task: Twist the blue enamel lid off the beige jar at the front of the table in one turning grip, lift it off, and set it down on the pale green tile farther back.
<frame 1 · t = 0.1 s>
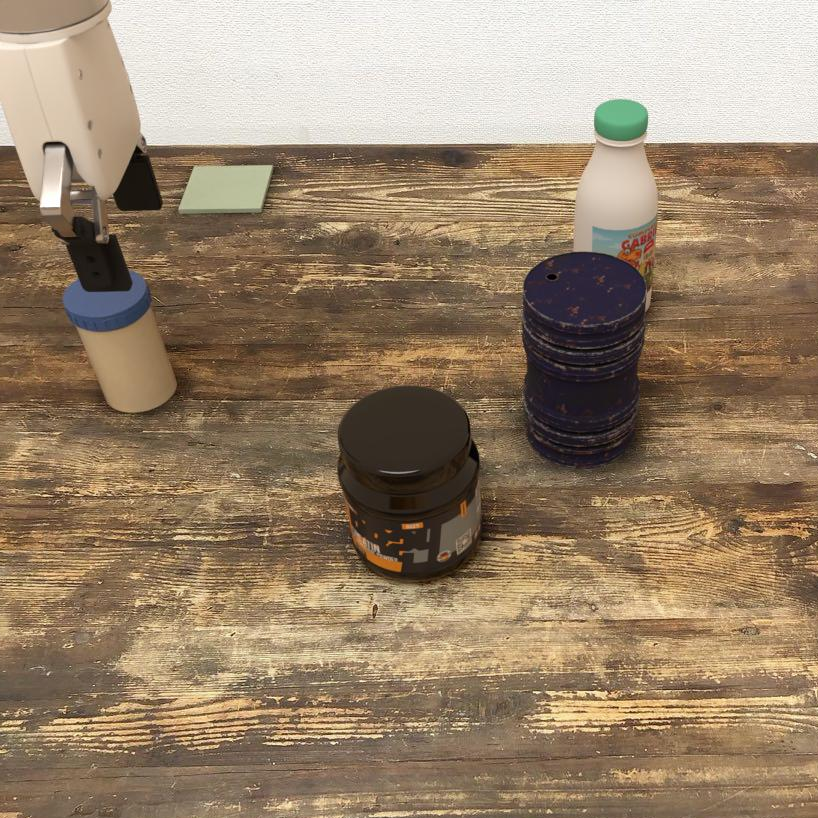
hand: (126, 247, 74), 22 cm above the table, tool pointing down, fingers open, 9 cm apart
supplement container: (419, 539, 86), on the table
lid: (106, 295, 90), point 10 cm above the table, screwed on, not yet turned
beige jar: (141, 389, 98), on the table
storage jar: (580, 431, 94), on the table
tile: (227, 191, 120), on the table
milk bottle: (611, 305, 106), on the table
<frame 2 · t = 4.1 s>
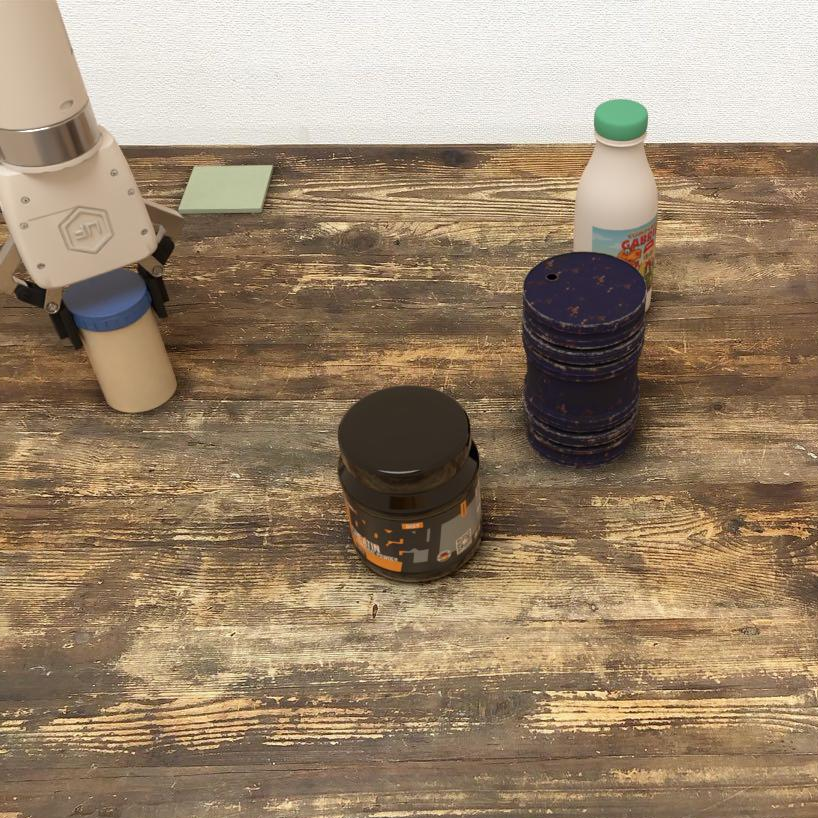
hand: (116, 324, 92), 7 cm above the table, tool pointing down, fingers closed on lid, 6 cm apart
lid: (106, 295, 90), point 10 cm above the table, screwed on, not yet turned, touching gripper
everything else where it was.
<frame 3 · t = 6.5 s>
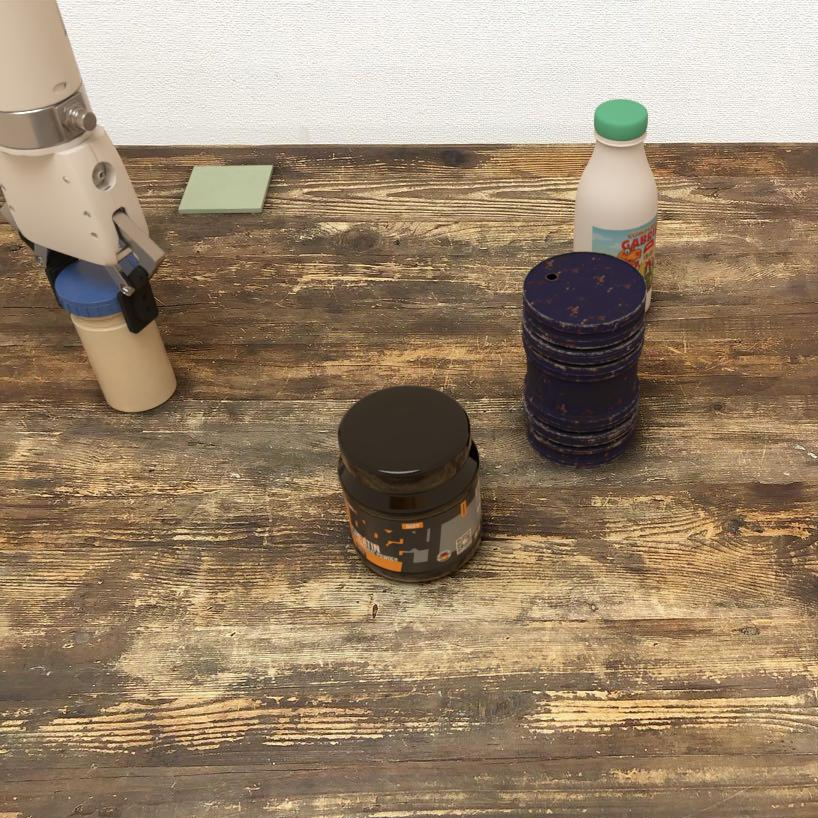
hand: (109, 310, 91), 9 cm above the table, tool pointing down, fingers closed on lid, 6 cm apart
lid: (99, 281, 89), point 12 cm above the table, off its thread, touching gripper
beige jar: (141, 388, 98), on the table, touching gripper
everything else where it was.
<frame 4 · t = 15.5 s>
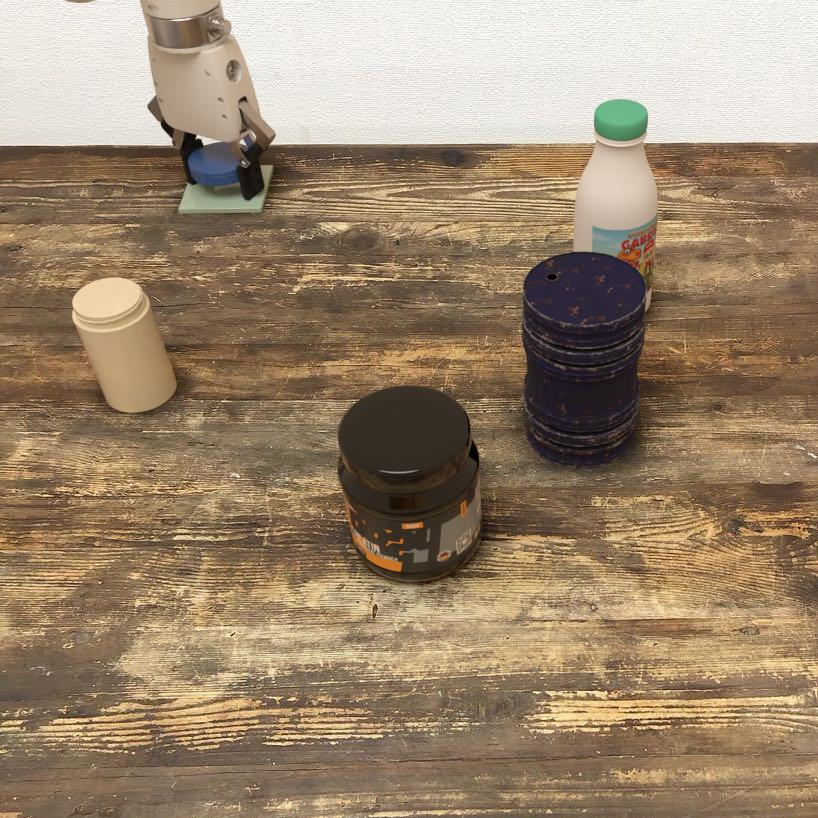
hand: (226, 185, 119), 1 cm above the table, tool pointing down, fingers closed on lid, 6 cm apart
lid: (220, 160, 117), point 4 cm above the table, off its thread, touching gripper
beige jar: (141, 389, 98), on the table
everything else where it was.
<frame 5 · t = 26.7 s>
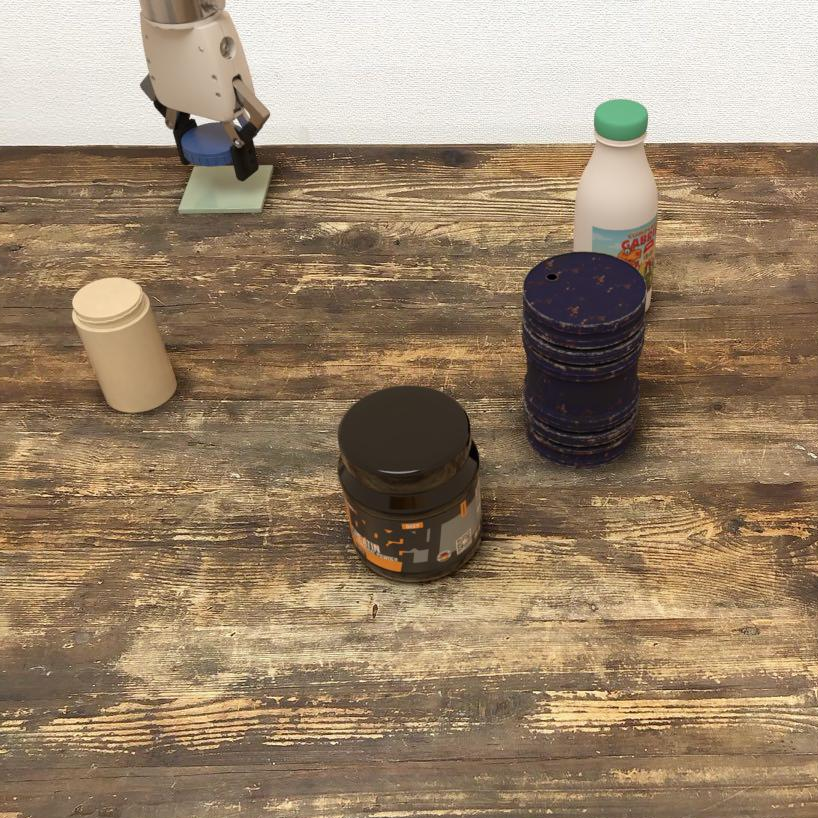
hand: (220, 166, 117), 3 cm above the table, tool pointing down, fingers closed on lid, 6 cm apart
lid: (214, 141, 115), point 6 cm above the table, off its thread, touching gripper
everything else where it was.
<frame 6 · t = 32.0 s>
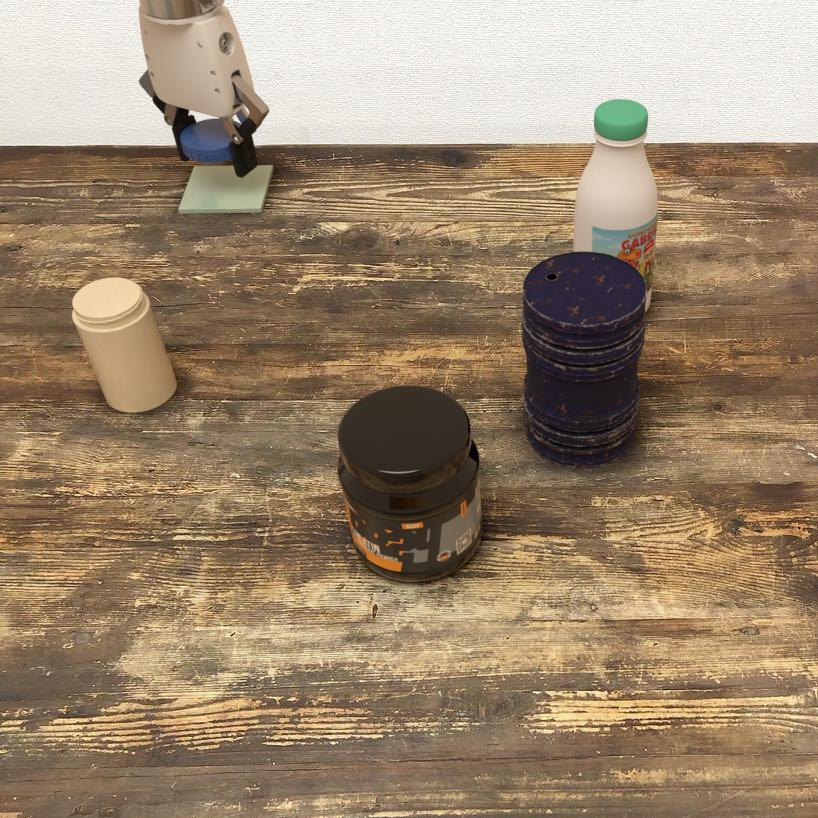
hand: (219, 162, 117), 4 cm above the table, tool pointing down, fingers closed on lid, 6 cm apart
lid: (213, 137, 115), point 6 cm above the table, off its thread, touching gripper
everything else where it was.
when the fingers open (4 cm above the table, at t = 37.3 s): lid drops 5 cm, resting on tile.
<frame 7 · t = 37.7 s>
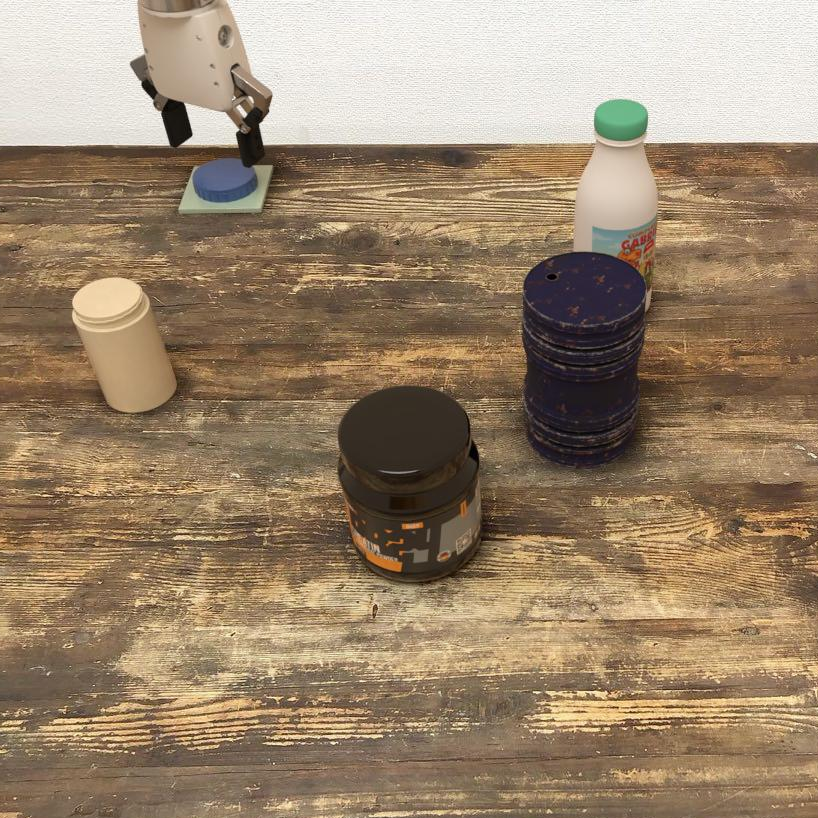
hand: (217, 151, 116), 5 cm above the table, tool pointing down, fingers open, 9 cm apart
lid: (224, 177, 119), point 2 cm above the table, off its thread, touching tile
everything else where it was.
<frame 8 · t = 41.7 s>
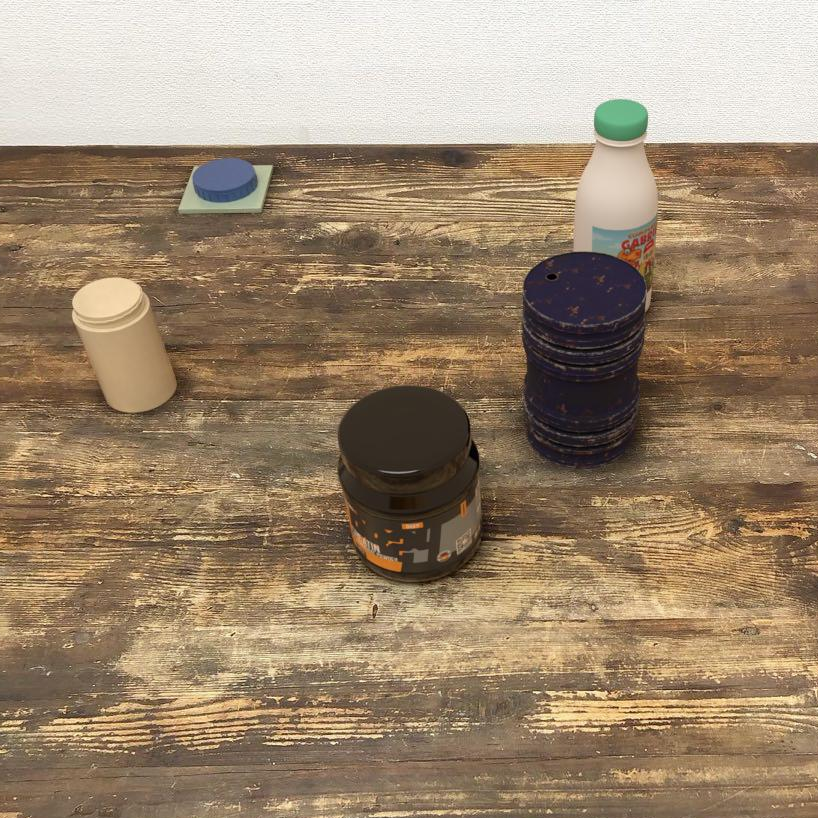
nothing on the table moved.
at the end: lid came off its thread; lid inside the target area on the tile (0.0 cm from its centre), point 1.7 cm above the tile's base; the gripper is holding nothing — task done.
